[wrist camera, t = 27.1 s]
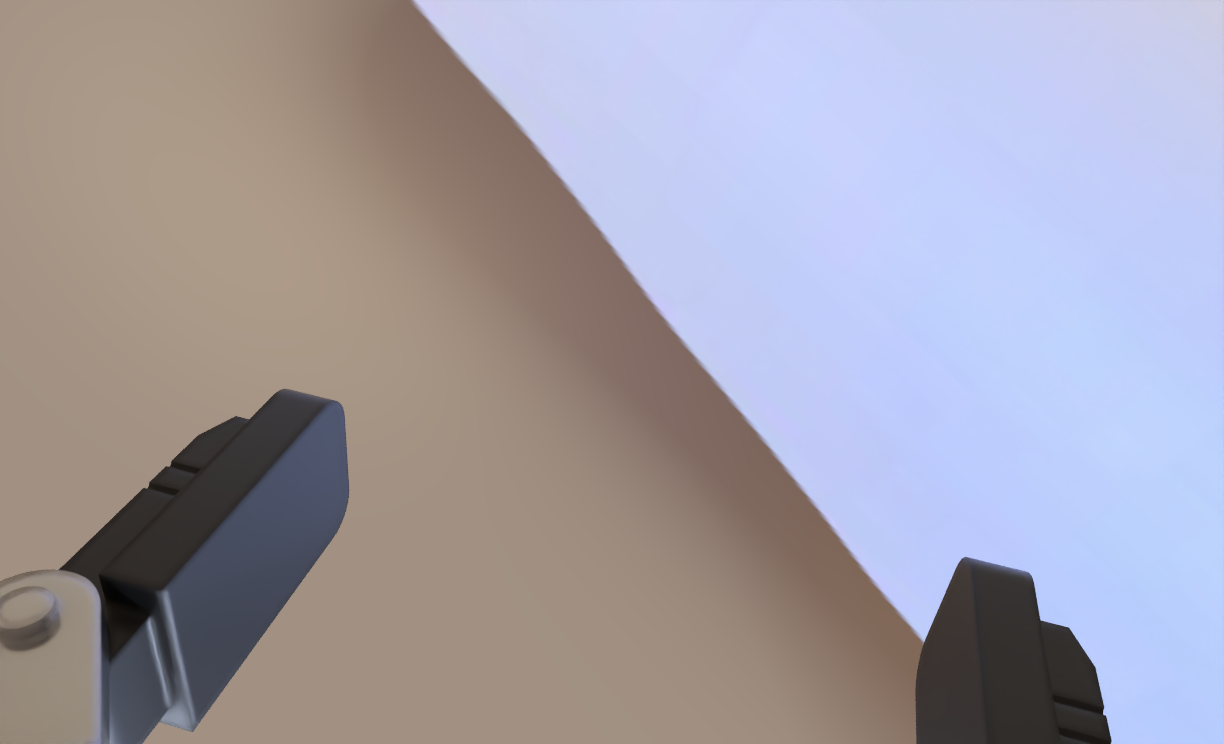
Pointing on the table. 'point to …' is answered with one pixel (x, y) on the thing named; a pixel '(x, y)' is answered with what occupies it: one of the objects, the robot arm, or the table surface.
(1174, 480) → the table surface
